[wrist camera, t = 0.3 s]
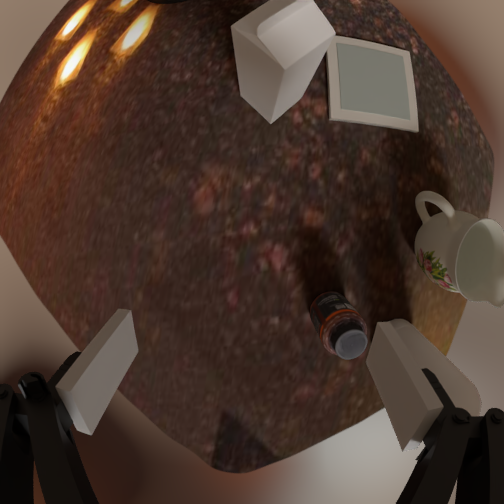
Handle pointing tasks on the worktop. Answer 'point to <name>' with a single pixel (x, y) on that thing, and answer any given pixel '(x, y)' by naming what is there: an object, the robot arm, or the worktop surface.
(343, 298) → the supplement bottle
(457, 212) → the pitcher
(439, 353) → the bottle
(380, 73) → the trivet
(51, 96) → the worktop surface
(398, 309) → the worktop surface
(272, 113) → the milk
